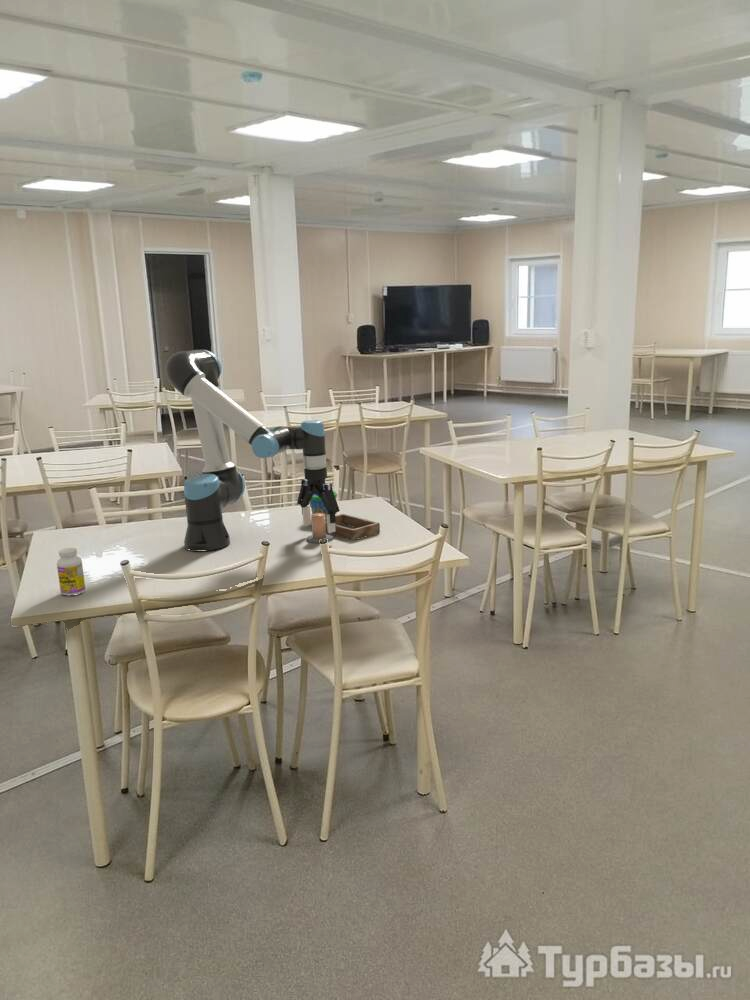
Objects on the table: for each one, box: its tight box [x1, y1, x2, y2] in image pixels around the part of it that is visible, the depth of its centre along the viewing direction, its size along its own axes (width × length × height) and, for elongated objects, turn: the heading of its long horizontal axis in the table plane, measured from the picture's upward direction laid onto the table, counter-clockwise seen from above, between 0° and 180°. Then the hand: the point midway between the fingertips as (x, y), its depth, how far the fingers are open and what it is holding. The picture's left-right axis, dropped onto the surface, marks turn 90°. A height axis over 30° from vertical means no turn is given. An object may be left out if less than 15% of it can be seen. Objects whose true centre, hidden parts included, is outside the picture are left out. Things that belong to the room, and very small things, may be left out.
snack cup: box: [309, 490, 338, 518], centre depth 284 cm, size 16×11×10 cm
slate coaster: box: [306, 533, 334, 544], centre depth 261 cm, size 9×9×1 cm
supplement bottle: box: [56, 547, 86, 596], centre depth 218 cm, size 7×7×13 cm
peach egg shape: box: [310, 513, 327, 539], centre depth 260 cm, size 5×5×8 cm
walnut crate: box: [325, 513, 381, 541], centre depth 269 cm, size 12×20×4 cm, turn 42°
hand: (319, 528), depth 260 cm, fingers open, 13 cm apart
